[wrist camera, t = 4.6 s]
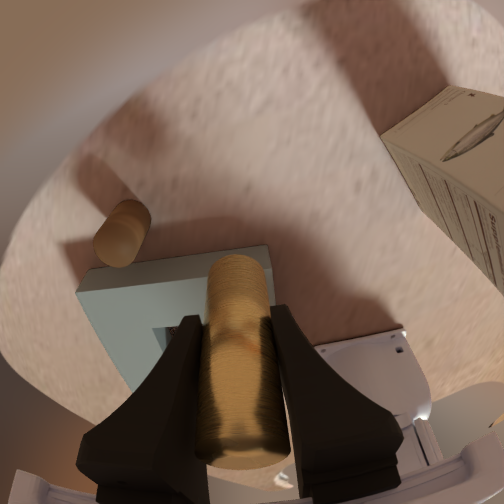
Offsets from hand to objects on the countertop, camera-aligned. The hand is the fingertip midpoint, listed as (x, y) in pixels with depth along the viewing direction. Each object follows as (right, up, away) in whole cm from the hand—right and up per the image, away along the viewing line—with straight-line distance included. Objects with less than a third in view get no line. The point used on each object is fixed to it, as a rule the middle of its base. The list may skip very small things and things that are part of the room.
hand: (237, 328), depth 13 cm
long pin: (0, +2, +3) cm, 3 cm away
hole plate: (-5, -2, +13) cm, 14 cm away
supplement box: (+14, +11, +7) cm, 19 cm away
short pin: (-8, +5, +8) cm, 13 cm away
